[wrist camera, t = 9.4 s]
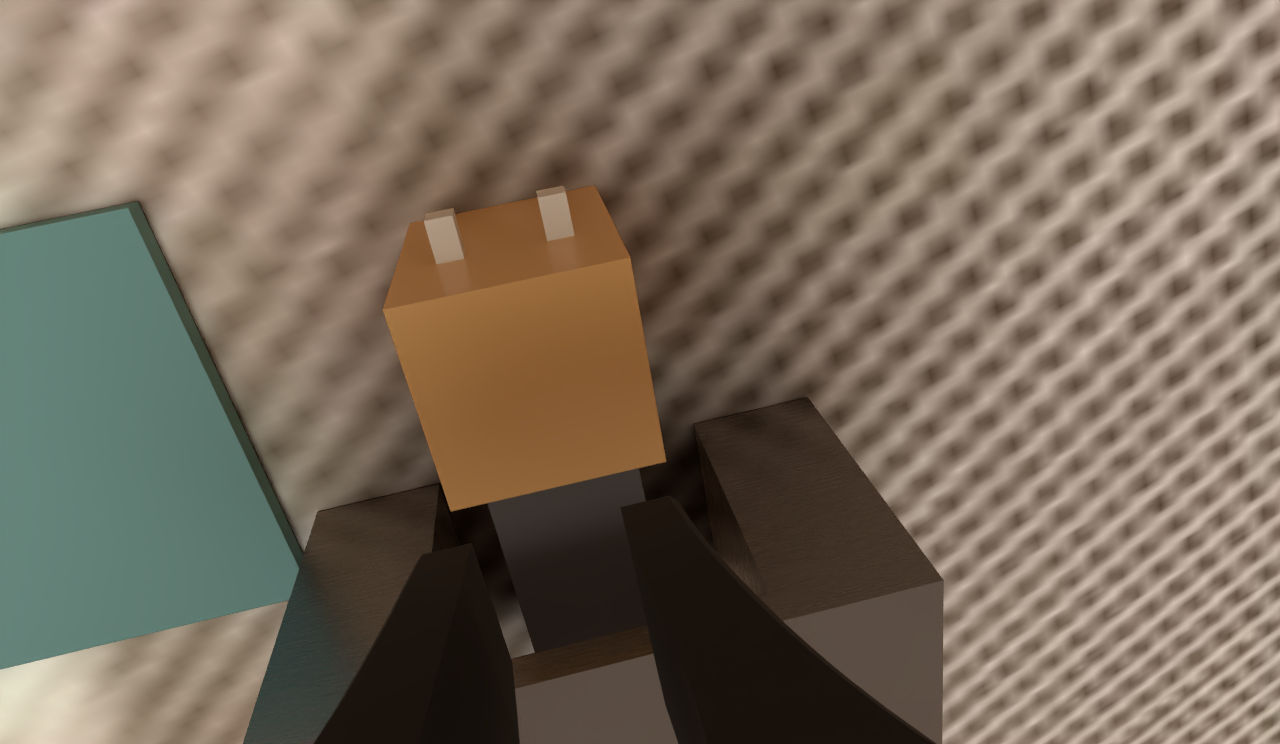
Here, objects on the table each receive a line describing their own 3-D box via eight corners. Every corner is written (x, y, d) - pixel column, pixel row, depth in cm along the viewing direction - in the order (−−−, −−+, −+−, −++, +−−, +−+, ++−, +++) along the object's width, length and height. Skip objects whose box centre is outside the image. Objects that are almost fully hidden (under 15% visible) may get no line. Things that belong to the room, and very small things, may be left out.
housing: (820, 548, 23) (942, 762, 17) (381, 657, 22) (338, 924, 16) (808, 397, 21) (943, 579, 14) (317, 512, 20) (237, 758, 14)
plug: (626, 349, 19) (666, 461, 15) (459, 385, 19) (450, 511, 15) (587, 147, 17) (622, 208, 13) (398, 185, 17) (366, 262, 12)
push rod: (672, 658, 24) (698, 759, 21) (568, 685, 24) (579, 791, 21) (607, 350, 19) (629, 422, 16) (475, 380, 19) (472, 458, 16)
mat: (315, 581, 21) (311, 594, 20) (-91, 678, 20) (-104, 694, 20) (137, 201, 16) (127, 207, 16) (-398, 311, 15) (-425, 320, 15)
